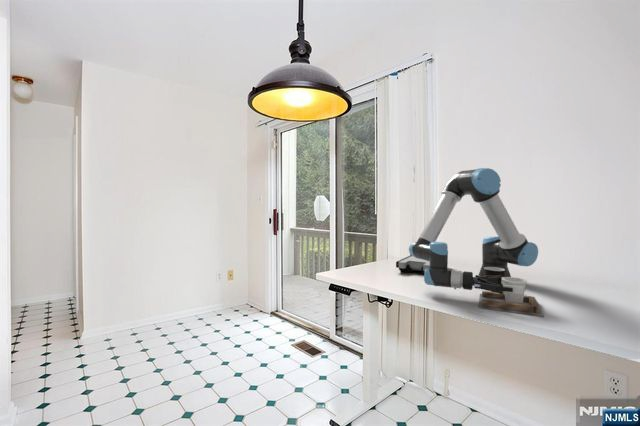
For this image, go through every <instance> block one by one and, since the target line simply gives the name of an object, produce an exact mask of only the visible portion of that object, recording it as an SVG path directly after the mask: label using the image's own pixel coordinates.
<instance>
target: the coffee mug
mask: <svg viewBox="0 0 640 426" xmlns="http://www.w3.org/2000/svg"><path fill="white" fill-rule="evenodd" d="M484 271H485V276H497V275H501V277H504V274H505V269H502V268H497V267H485V268H484ZM495 284H499V285H502V286H503V284H501V283H495Z"/></svg>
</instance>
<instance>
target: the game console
mask: <svg viewBox="0 0 640 426" xmlns="http://www.w3.org/2000/svg"><path fill="white" fill-rule="evenodd" d="M409 254H410V253H409ZM429 267H430V261H426V260H423V259H418V258H416V257H413V256H412V255H411V254H410V255H409V256H406V257H404V258H401V259H400V260H397V261H396V262H395V268H396V269H397V268H398V271H400V273H408V274H411V273H413V272H414V271H418V272H419V271H420V273H421V274H422V276H424V272H425V269H426V268H429Z"/></svg>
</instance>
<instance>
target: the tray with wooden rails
mask: <svg viewBox="0 0 640 426" xmlns="http://www.w3.org/2000/svg"><path fill="white" fill-rule="evenodd" d="M481 292H482V293H479V298H478V308H479V309H484V310H492V311H496V312H497V311H499V312H505V313H510V314H511V313H513V314H518V315H519V314H521V315H527V316H533V317H541V318H545V315H544V313H543V311H542V309H541V307H540V304H539V302H538V301H537V299H536V297H535V296H530V295H524V298H523V304H517V303H509V302H506V300H505V292H503V294H500V293H496V292H492V291H487V290H482V291H481Z"/></svg>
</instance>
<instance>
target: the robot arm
mask: <svg viewBox="0 0 640 426" xmlns="http://www.w3.org/2000/svg"><path fill="white" fill-rule="evenodd" d="M501 180H502V179H501V177H500V174H498V172H497V171H496V170H495V169H493V168H489V167H488V168H487V167H486V168H484V167H482V168H481V167H480V168H477V169H469V170H468V169H467V170H461V171H458V172H457V173H455V174H454V175H453V176H452V177H451V178H450V179H449V181H448V182H447V183H446V184H445V185H444V188H443V189H442V191H441V193H440V194H441V197H440V199H439V201H438V202H437V204H436V206H435V208H434V209H433V212H432V213H431V215H430V217H429V218H428V220H427V222H426V225H425V226H424V228H423V230H422V232H421V233H420V235H419V237H418V239H417V241H414V242H411V244H409V246H408V252H409V254H411V255H412V256H413V257H416V258H418V259H423V260H426V261H430V267H429V268H426V269H425V272H424V275H423V278H424V279H423V281H424V283H425V285H428V286H434V287H441V288H442V287H443V288H453V289H454V290H457V289H463V290H466V291H467V290H468V291H472V290H473V288H474V289H480V290H482V291H488V292H496V293H500V294H503V293H505V292H507V293H516V294H523V287H521V286H511V285H503V286H502V285H499V284H495V283H501V284H503V280H502V278H504V277H512V275H511V273H510V270H509V267H508V264H511V265H516V266H519V267H531V266H532V265H533V264H535V263H536V261H537V259H538V256H539V248H538V246H537V244H536V243H534V242H532V241H530V242H529V241H528V239H527V237H526V236H525V234H523V233H520V232H519V229H518V228H517V227H516V225H515V223H514V221H513V219H512V217H511V215H510V214H509V212H508V210H507V208H506V206H505V205H504V203H503V200H502V199H501V198H500V196H499V194H500V188H501V184H502V183H501ZM468 195H469V196H471V198H472V200H473V202H475V203H478V204H479V205H480V207H481V209H482V210H483V212H484V213H485V215H486V217H487V220H488V221H489V223H490V224H491V226H492V227H493V229H494V231H495V233H496V235H497V236H485V237H483V239H482V244H481V245H482V248H481V249H482V250H481V251H482V253H481V254H482V257H481V258H482V260H481V261H482V264H481V267H480V269H479V271H478V275H477V274H476V275H475V276H474V275H473V274H474V273H473V272H472V271H466V270H465V271H462V270H454V269H453V270H452V269H448V265H449V264H448V261H449V260H448V258H449V250H448V249H449V248H448V243H446V242H443V241H437V239H438V238H439V236H440V234H441V232H442V230H443V228H444V227H445V225H446V224H447V221H448V219H449V218H450V215H451V214H452V212H453V210H454V208H455V206H456V205H457V203H458V202H461V200H462V198H464V196H468ZM485 267H497V268H502V269H505V274H504V277H501V275H497V276H485V271H484V268H485Z"/></svg>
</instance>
